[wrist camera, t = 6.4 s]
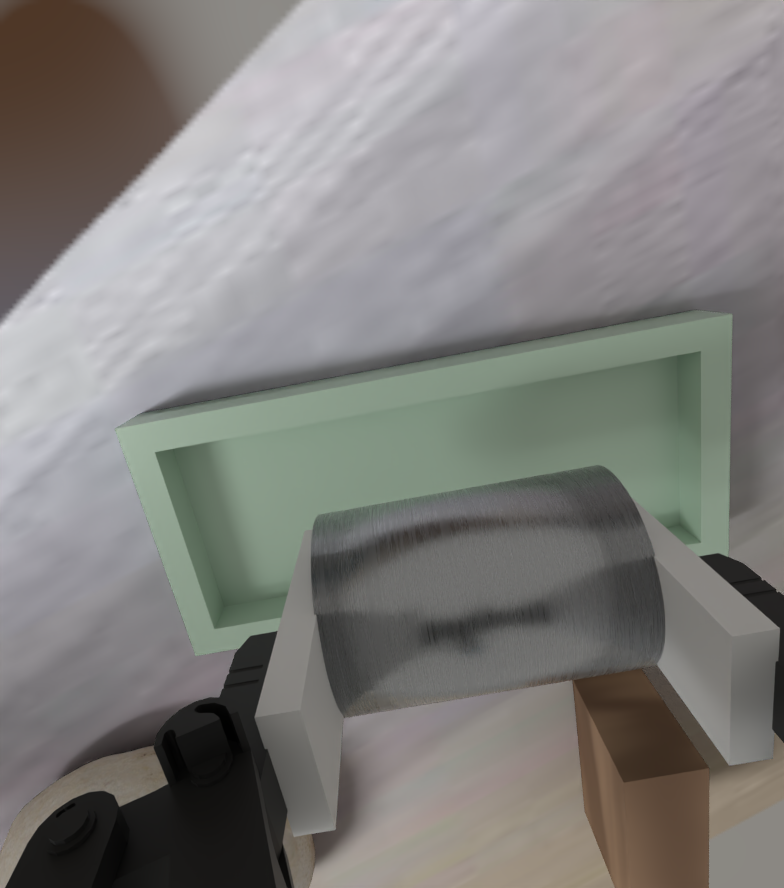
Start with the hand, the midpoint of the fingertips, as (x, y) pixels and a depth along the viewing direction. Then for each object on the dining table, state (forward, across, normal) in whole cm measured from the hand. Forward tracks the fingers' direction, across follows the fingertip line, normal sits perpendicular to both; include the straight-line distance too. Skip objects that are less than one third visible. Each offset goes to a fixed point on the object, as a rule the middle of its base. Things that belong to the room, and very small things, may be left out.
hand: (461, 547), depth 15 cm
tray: (+6, 0, 0) cm, 6 cm away
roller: (0, 0, 0) cm, 0 cm away
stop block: (+6, +6, -15) cm, 17 cm away
